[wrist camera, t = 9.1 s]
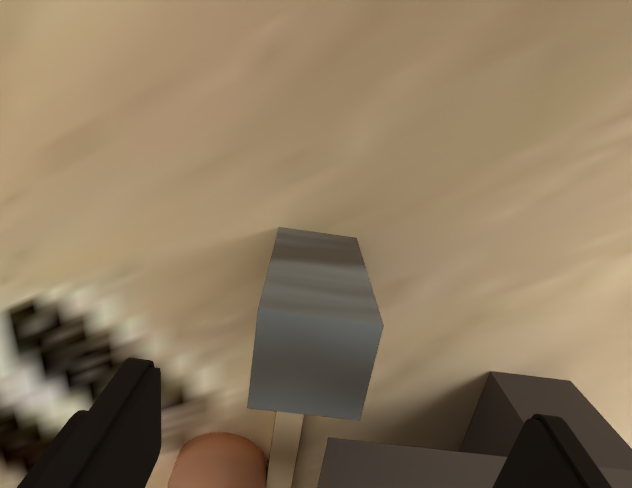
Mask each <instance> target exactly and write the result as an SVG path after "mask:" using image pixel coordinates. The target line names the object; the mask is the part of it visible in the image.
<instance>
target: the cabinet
mask: <svg viewBox="0 0 632 488" xmlns="http://www.w3.org/2000/svg"><path fill="white" fill-rule="evenodd" d="M534 414H543V415H551V416H558V417H561V418H562V419H564V421H565V422H566V423H567V424H568V426H569V427H570V429H571V430H572V431H573V433H574V434H575V436H576V437H577V439H578V440H579V441H580V443H581V444H582V446H583V447H584V448H585V450H586V451H587V453H588V454H589V456H590V457H591V458H592V460H593V461H594V463H595V464H596V466H597V467H598V468H599V470H600V471H601V473H602V474H603V475H604V477H605V478H606V480H607V481H608V483H609V484H610V485H611V487H612V488H632V449H631V448H630V446H629V445H628V444H627V443H626V442H625V441H624V440H623V439H622V438H621V436H620V435H619V434H618V433H617V432H616V431H615V430H614V429H613V428H612V427H611V425H610V424H609V423H608V422H607V421H606V420H605V419H604V418H603V417H602V415H601V414H600V413H599V412H598V411H597V410H596V409H595V408H594V407H593V405H592V404H591V403H590V402H589V401H588V400H587V399H586V398H585V397H584V396H583V394H582V393H581V392H580V391H579V390H578V389H577V388H576V387H575V386H574V384H573V383H572V382H571V381H566V380H557V379H549V378H541V377H533V376H525V375H516V374H508V373H500V372H492V371H491V372H490V374H489V377H488V379H487V382H486V385H485V387H484V390H483V392H482V395H481V397H480V400H479V403H478V405H477V408H476V410H475V413H474V415H473V418H472V421H471V423H470V426H469V428H468V431H467V433H466V436H465V439H464V441H463V444H462V446H461V449H460V451H459V452H457V451H447V450H438V449H429V448H420V447H410V446H401V445H392V444H383V443H374V442H364V441H355V440H346V439H337V438H328V441H327V446H326V450H325V455H324V460H323V464H322V469H321V473H320V478H319V483H318V487H317V488H493V485H494V483H495V481H496V479H497V477H498V475H499V473H500V471H501V469H502V467H503V465H504V463H505V461H506V459H507V457H508V455H509V453H510V451H511V449H512V447H513V445H514V443H515V441H516V439H517V437H518V435H519V433H520V431H521V429H522V427H523V425H524V423H525V421H526V420H527V419H531V417H532V416H533V415H534Z"/></svg>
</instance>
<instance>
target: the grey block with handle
mask: <svg viewBox="0 0 632 488" xmlns="http://www.w3.org/2000/svg"><path fill="white" fill-rule="evenodd" d="M382 329H383V322H382V319H381V315H380V312H379V309H378V306H377V302H376V299H375V296H374V293H373V290H372V286H371V283H370V280H369V277H368V274H367V270H366V267H365V264H364V261H363V257H362V254H361V251H360V248H359V245H358V241H357V238H353V237H345V236H338V235H331V234H324V233H316V232H309V231H302V230H295V229H288V228H280V227H279V229H278V233H277V237H276V241H275V245H274V249H273V253H272V257H271V261H270V265H269V269H268V272H267V276H266V280H265V284H264V288H263V292H262V296H261V300H260V304H259V308H258V314H257V324H256V333H255V342H254V351H253V360H252V369H251V379H250V388H249V397H248V406H247V408H249V409H259V410H268V411H276V417H275V424H274V431H273V438H272V444H271V451H270V458H269V465H268V472H267V479H266V488H291V484H292V479H293V473H294V468H295V462H296V456H297V451H298V445H299V440H300V434H301V429H302V423H303V417H304V414H305V415H314V416H323V417H332V418H342V419H351V420H360V418H361V414H362V410H363V406H364V402H365V398H366V394H367V390H368V386H369V382H370V378H371V374H372V370H373V366H374V362H375V358H376V354H377V349H378V345H379V341H380V337H381V333H382Z"/></svg>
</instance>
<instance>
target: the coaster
mask: <svg viewBox="0 0 632 488" xmlns="http://www.w3.org/2000/svg"><path fill="white" fill-rule="evenodd" d="M267 470H268V465H267V461H266V458H265V456H264V454H263V452H262V451H261V450H260V449H259V448H258V447H257V446H256V445H255V444H254V443H252V442H251V441H249V440H247V439H245V438H243V437H241V436H238V435H234V434H230V433H208V434H204V435H200V436H198V437H195V438H193V439H192V440H190V441H189V442H187V443H186V444H185V445H184V446H183V447H182V449H181V450H180V452H179V454H178V457H177V460H176V463H175V465H174V468H173V471H172V474H171V476H170V479H169V482H168V488H266V479H267Z"/></svg>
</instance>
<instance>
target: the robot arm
mask: <svg viewBox="0 0 632 488" xmlns="http://www.w3.org/2000/svg"><path fill="white" fill-rule="evenodd" d="M160 449H161V372H160V368H155V367H154V363H153V361H150V360H143V359H135V358H128V359H126V361H125V362H124V363H123V364H122V366H121V367H120V368H119V370H118V371H117V373H116V374H115V375H114V377H113V378H112V379H111V381H110V382H109V384H108V385H107V386H106V388H105V389H104V390H103V392H102V393H101V395H100V396H99V397H98V399H97V400H96V401H95V403H94V404H93V406H92V407H91V408H90V410H89V411H85V410H80V411H78V412H76V413H75V414H74V415H73V416H72V417H71V418H70V419H69V420H68V422H67V423H66V424H65V425H64V427H63V428H62V429H61V431H60V432H59V433H58V435H57V436H56V437H55V438H54V440H53V441H52V442H51V444H50V445H49V446H48V448H47V449H46V450H45V452H44V453H43V454H42V455H41V457H40V458H39V459H38V461H37V462H36V463H35V465H34V466H33V467H32V468H31V470H30V471H29V472H28V474H27V475H26V476H25V478H24V479H23V480H22V482H21V483H20V484H19V485H18V487H17V488H145V486H146V484H147V481H148V479H149V477H150V475H151V473H152V470H153V468H154V466H155V464H156V462H157V459H158V456H159V453H160ZM493 488H612V487H611V485H610V484H609V483H608V481H607V480H606V478H605V477H604V475H603V474H602V473H601V471H600V470H599V468H598V467H597V466H596V464H595V463H594V461H593V460H592V458H591V457H590V456H589V454H588V453H587V451H586V450H585V448H584V447H583V446H582V444H581V443H580V441H579V440H578V439H577V437H576V436H575V434H574V433H573V431H572V430H571V429H570V427H569V426H568V424H567V423H566V422H565V421H564V419H562V418H561V417H558V416H551V415H543V414H534V415H533V416H532V417H531V419H527V420H526V421H525V423H524V425H523V427H522V429H521V431H520V433H519V435H518V437H517V439H516V441H515V443H514V445H513V447H512V449H511V451H510V453H509V455H508V457H507V459H506V461H505V463H504V465H503V467H502V469H501V471H500V473H499V475H498V477H497V479H496V481H495V483H494V485H493Z"/></svg>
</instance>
